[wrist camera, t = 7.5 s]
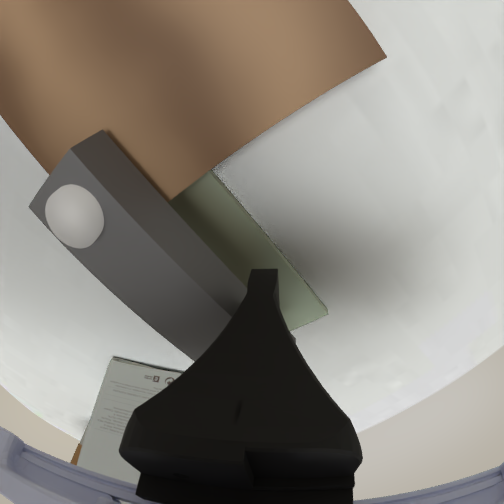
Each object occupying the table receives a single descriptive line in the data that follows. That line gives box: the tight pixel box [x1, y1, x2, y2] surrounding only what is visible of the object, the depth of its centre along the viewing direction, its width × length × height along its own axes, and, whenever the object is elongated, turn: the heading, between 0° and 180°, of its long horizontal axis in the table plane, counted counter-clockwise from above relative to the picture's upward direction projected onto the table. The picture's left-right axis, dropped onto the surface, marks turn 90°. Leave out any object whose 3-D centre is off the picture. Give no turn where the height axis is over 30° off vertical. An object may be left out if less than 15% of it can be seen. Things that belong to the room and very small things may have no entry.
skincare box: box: [77, 358, 182, 504], centre depth 17 cm, size 8×6×15 cm
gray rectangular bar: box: [29, 129, 296, 361], centre depth 11 cm, size 12×3×2 cm, turn 36°
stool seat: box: [0, 0, 387, 331], centre depth 10 cm, size 12×22×2 cm, turn 37°
